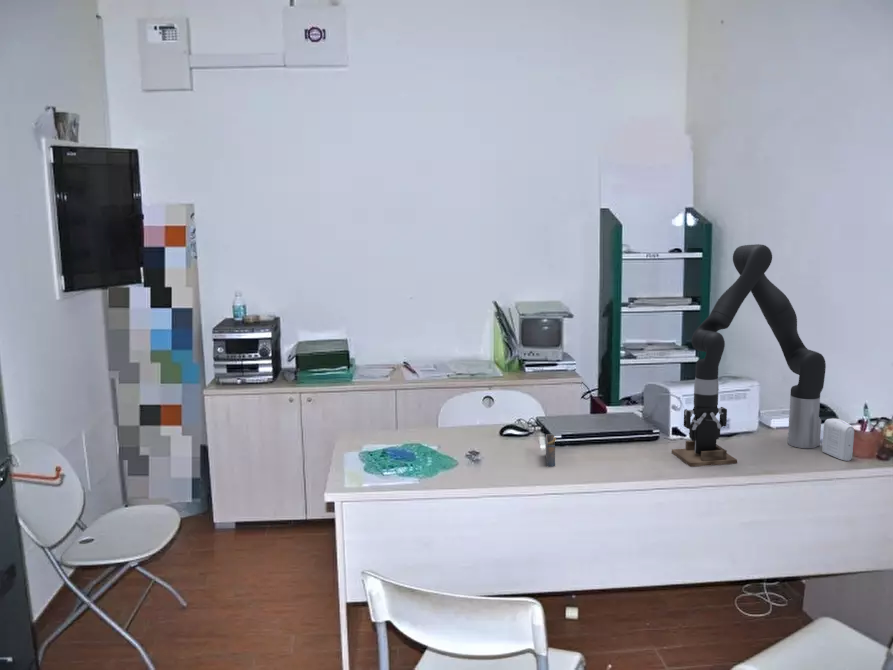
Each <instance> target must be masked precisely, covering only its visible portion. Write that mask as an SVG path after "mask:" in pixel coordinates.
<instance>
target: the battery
mask: <svg viewBox="0 0 893 670" xmlns="http://www.w3.org/2000/svg"><path fill="white" fill-rule="evenodd" d="M697 420H698V419H697ZM697 420H696V421H697ZM695 430H696V441H695V448H694V452H695V453H697V454H701V451H713V450H716V444H717V441H718V439H717V423H716V422H715V421H714V420H704V421H701V423H700V424H699V425H697V427H696V429H695Z"/></svg>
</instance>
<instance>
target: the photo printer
mask: <svg viewBox="0 0 893 670" xmlns="http://www.w3.org/2000/svg"><path fill="white" fill-rule="evenodd" d="M822 432H823V435H822V447H821V448H822V449H821V450H822V451H821V452H823V453H824V454H827V455H829V456H831V457H833V458H836V459H839V460H841V461H845V462H848V461H851V460H852V459H853V454H854V453H853V450H854V440H855V429H854V427H853V425H851V424H850V423H848V422H846V421H844V420H843V419H840V418H835V417H834V418H827V419H825V421H824V423H823V431H822Z"/></svg>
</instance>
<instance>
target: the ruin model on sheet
mask: <svg viewBox="0 0 893 670" xmlns="http://www.w3.org/2000/svg"><path fill="white" fill-rule="evenodd" d="M556 441H557V437H556V436H555V434H545V460H546V467H547V466H548V467H553V466H555V467H556V443H555V442H556ZM553 468H554V467H553Z"/></svg>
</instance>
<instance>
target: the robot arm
mask: <svg viewBox="0 0 893 670" xmlns="http://www.w3.org/2000/svg"><path fill="white" fill-rule="evenodd" d="M772 261H773V253H772V251H771V249H770V248H769V247H768V246H767V245H766V244H759V243H758V244H756V243H755V244H747V245H746V244H744V245H739V246H738V247H736V249H735V250H734V251H733V253H732V262H733V263H732V264H733V266H734V267H735V270H736V272H738V274H739V276H738V278H737V279H736V281H734V282H733V284H731V285H730V286H729V287H728V289H726V290H725V291H724V292H723V293H722V295H721V296H719V298H718V299H717V301H716V303H715V304H714V306H713V308H712V310H711V312H710V313H709V315H708V316H707V317H706V318H705V320H703V321H702V322H701V324H700V325H699V326H698V327H697V328H696V329H695V330H694V332H693V334H692V337H691V345H692V348H693V349H695V350H697V351H698V352H703V353H705V356H704V358H701V359H697V361H696V362H695V373H694V374H695V375H694V376H695V377H694V385H693V409H687V408H686V409H684V410H683V427H685V428H686V429H687V430H688V431H689V432H688V433H689V434H688V435H689V439H690V440H692V441H696V430H695V429H696V427H697V425H699V424H700V423H701V421H704V420H714V421H715V422H716V423H717V440H719V438H720V437H721V429H722V427H726V426H727V421H728V420H727V419H728V417H727V416H728V409H727V408H725V407H724V406H720V407H718V406H719V391H720V390H719V389H720V388H719V384H720V383H719V365H720V363H721V360H722V357H723V354H724V350H725V347H726V343H725V338H724V336H723V335H722V334H721V333H719V332H718V331H721V330H726V329H728V328H729V327H730V325H731V324H732V322H733V320H734V319H735V318H736V315H737V313H738V311H739V309H740V307H741V306H742V304H743V303H744V301H745V300H746V298H747V297H748V295H750V293H751V294H752V297H753V298H754V300H755V301H756V303H757V305H758V307H759V308H760V309H759V310H761V313H762V315H763V317H764V319H765V321H766V322H767V324H768V325H769V328H770V329H771V332H772V334H773V335H774V337H775V338H776V341H777V343H778V344H779V346H780V349H781V351H782V354H783V357H784V359H785V362H786V364H787V367H788V368H789V370H790V371H791V372H793V373H794V374H796V375H797V376H798V375H799V376H798V383H797V384H796V385H792V386H791V388H790V396H789V397H790V398H789V413H788V416H789V417H788V432H787V444H788V445H789V446H792V447H794V448H800V449H813V448H816V447H820V446H821V435H822V434H821V432H822V430H821V429H822V419H821V418H820V406H821V405H820V404H821V403H820V402H821V394H822V391H823V389H824V384H825V378H826V377H825V376H826V368H827V365H826V359H825V357H824V356H823V354H822V353H820V352H819V351H815V350H811V349H808V347H806V345H805V344H804V342H803V341H802V339H801V337H800V334H799V332H798V318H797V313H796V310H795V308H794V307H793V305H792V303H791V301H790V299H789V298H788V297H787V296H786V294H785V293H784V292H783V291H782V290H781V289H779V288H778V287H777V285H775V284H774V283H773V282H772V281H771V280H769V278H767V276H766V274H765V273H766V272H767V271H768V269H769V268H770V266H771V264H772ZM718 414H719V420H718V418H717V417H716V416H717V415H718ZM693 415H694V416H693ZM692 417H693V418H692ZM697 419H698V420H697ZM696 420H697V421H696Z"/></svg>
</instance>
